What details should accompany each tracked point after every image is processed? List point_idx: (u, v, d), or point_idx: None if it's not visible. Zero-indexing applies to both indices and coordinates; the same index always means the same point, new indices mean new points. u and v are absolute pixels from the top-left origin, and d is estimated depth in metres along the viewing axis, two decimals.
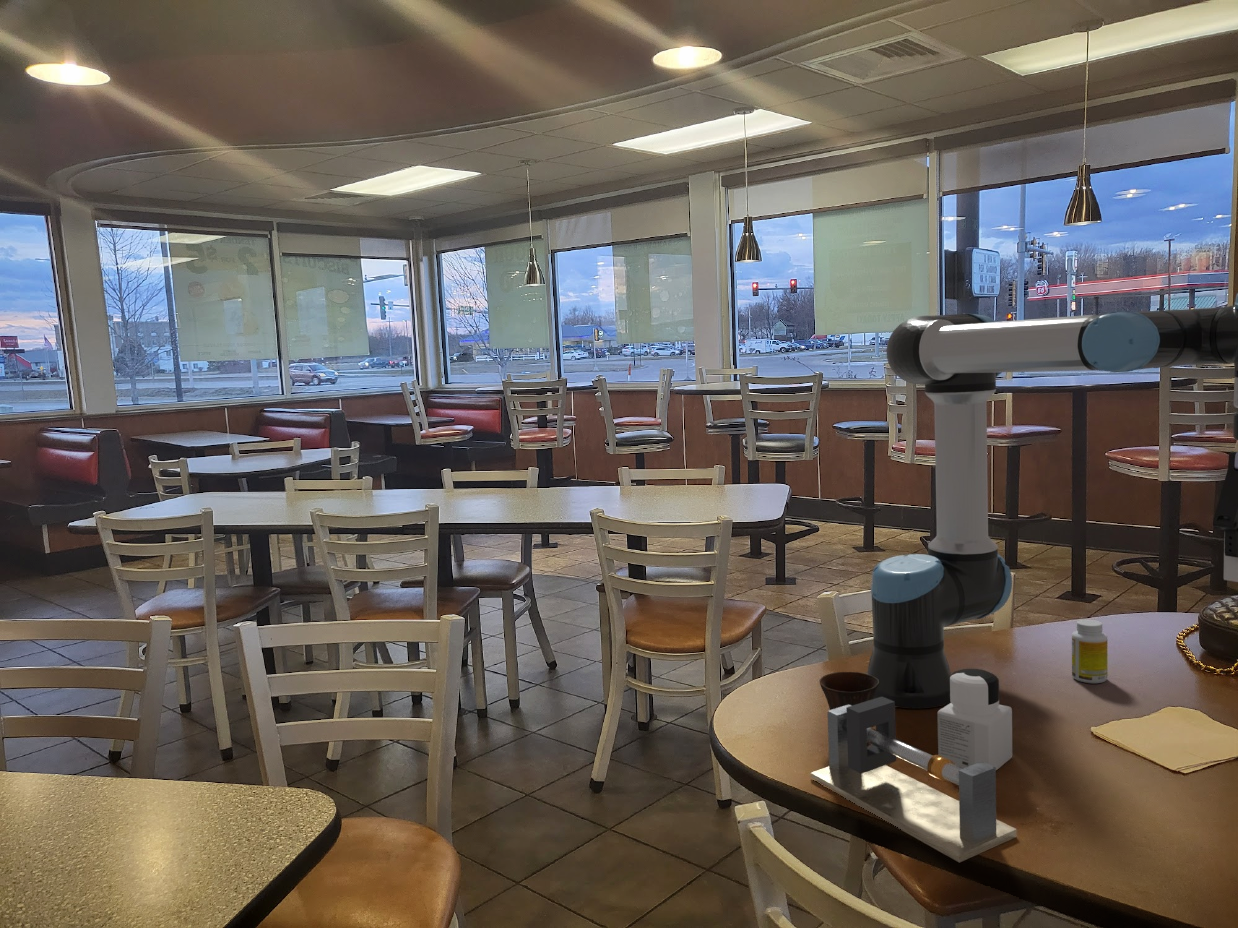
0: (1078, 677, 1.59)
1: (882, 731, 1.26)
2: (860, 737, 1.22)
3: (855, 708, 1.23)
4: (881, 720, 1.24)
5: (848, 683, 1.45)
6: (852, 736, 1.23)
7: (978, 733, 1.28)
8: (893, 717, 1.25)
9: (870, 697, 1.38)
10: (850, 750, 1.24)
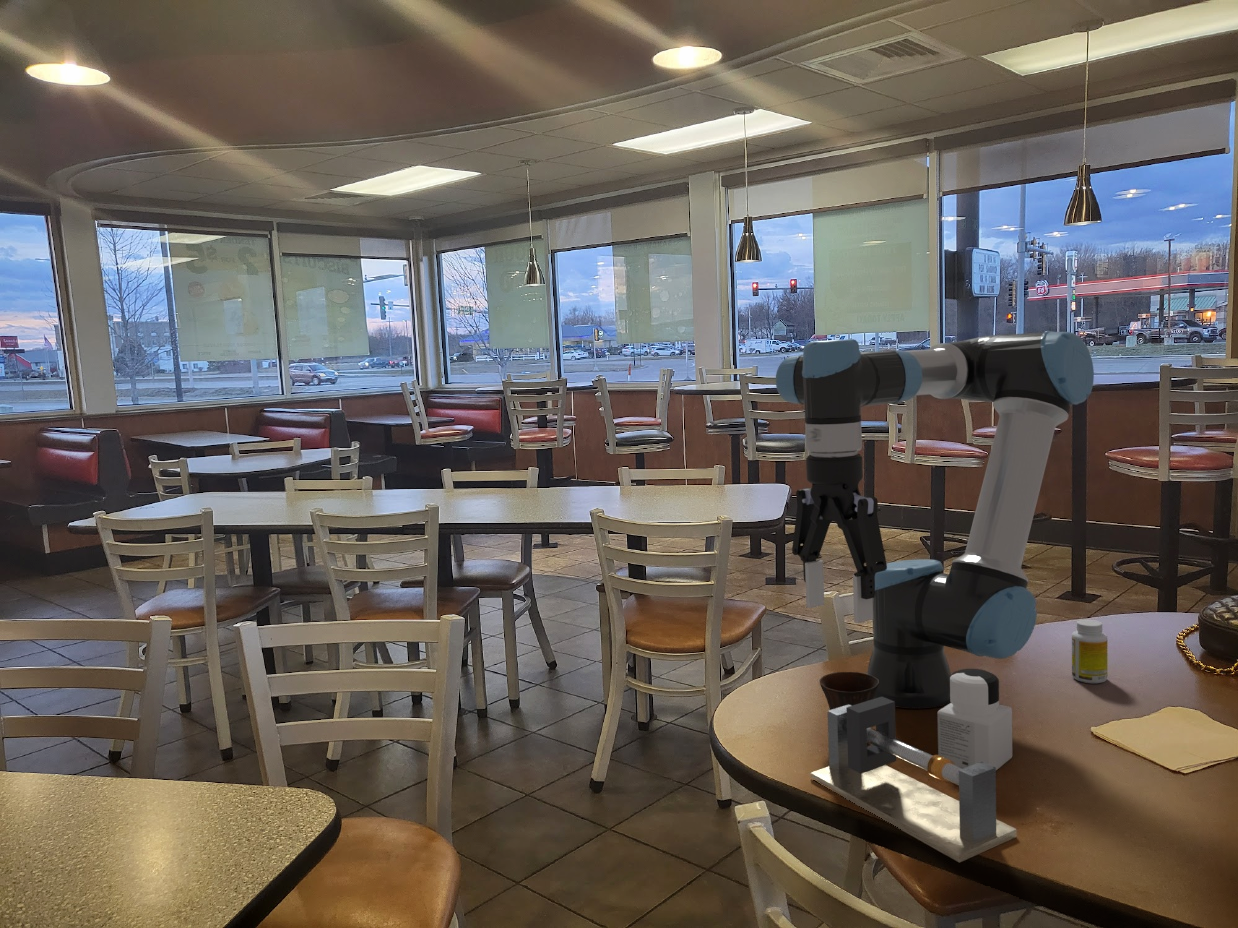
0: (1078, 677, 1.59)
1: (882, 731, 1.26)
2: (860, 737, 1.22)
3: (855, 708, 1.23)
4: (881, 720, 1.24)
5: (848, 683, 1.45)
6: (852, 736, 1.23)
7: (978, 733, 1.27)
8: (893, 717, 1.25)
9: (870, 697, 1.38)
10: (850, 750, 1.24)
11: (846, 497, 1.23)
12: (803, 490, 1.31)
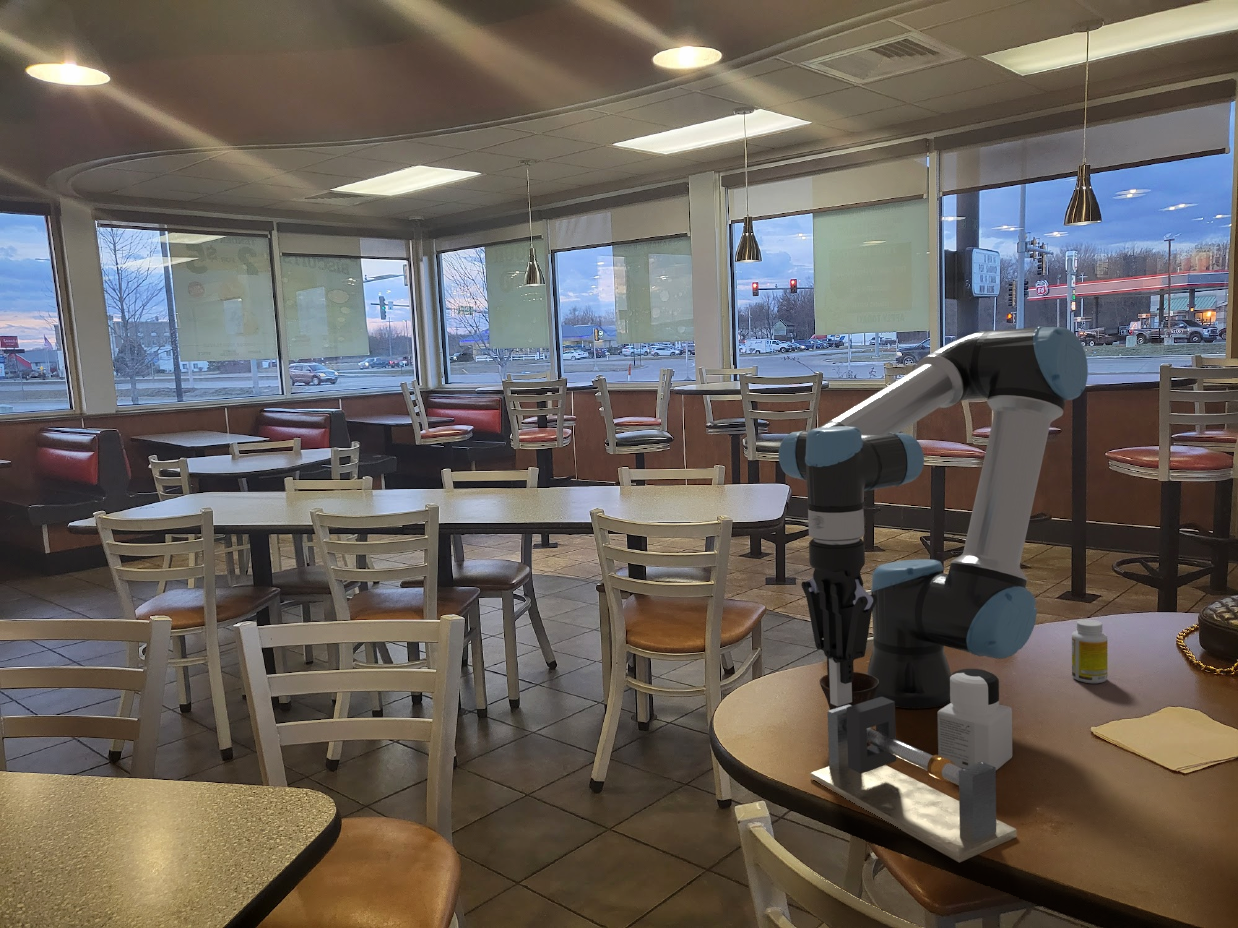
0: (1078, 677, 1.59)
1: (882, 731, 1.26)
2: (860, 737, 1.22)
3: (855, 708, 1.23)
4: (881, 720, 1.24)
5: None
6: (852, 736, 1.23)
7: (978, 733, 1.27)
8: (893, 717, 1.25)
9: (870, 697, 1.38)
10: (850, 750, 1.24)
11: (848, 585, 1.24)
12: None
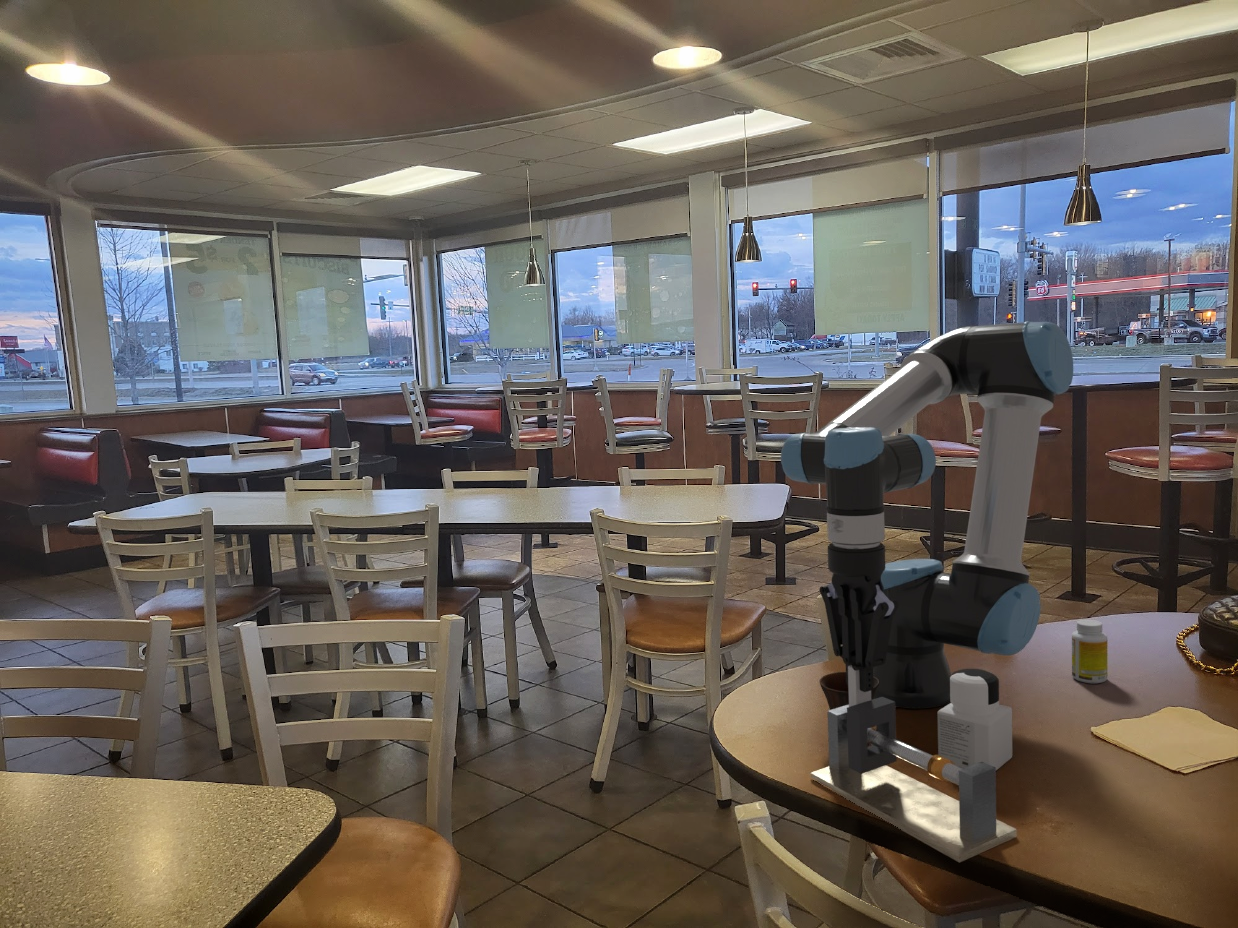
0: (1078, 677, 1.59)
1: (882, 731, 1.26)
2: (860, 737, 1.22)
3: (855, 708, 1.23)
4: (881, 720, 1.24)
5: None
6: (852, 736, 1.23)
7: (978, 733, 1.27)
8: (893, 717, 1.25)
9: None
10: (850, 750, 1.24)
11: (869, 591, 1.20)
12: (825, 585, 1.29)
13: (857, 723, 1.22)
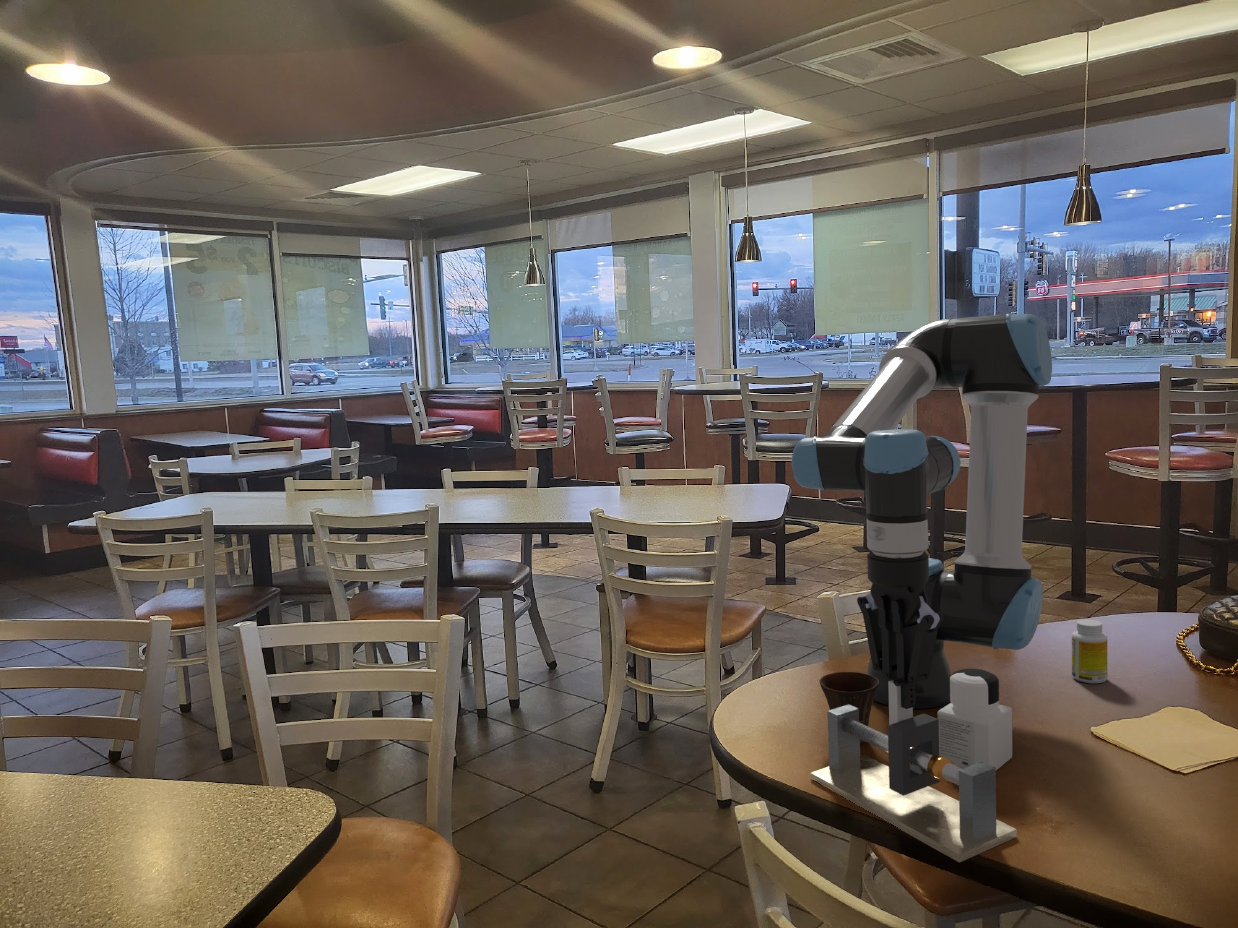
0: (1078, 677, 1.59)
1: (925, 750, 1.19)
2: (903, 757, 1.16)
3: (897, 726, 1.17)
4: (924, 739, 1.17)
5: (848, 683, 1.45)
6: (894, 756, 1.17)
7: (978, 733, 1.27)
8: (937, 735, 1.18)
9: (870, 697, 1.38)
10: (892, 770, 1.17)
11: (912, 602, 1.14)
12: (863, 596, 1.22)
13: (899, 742, 1.16)
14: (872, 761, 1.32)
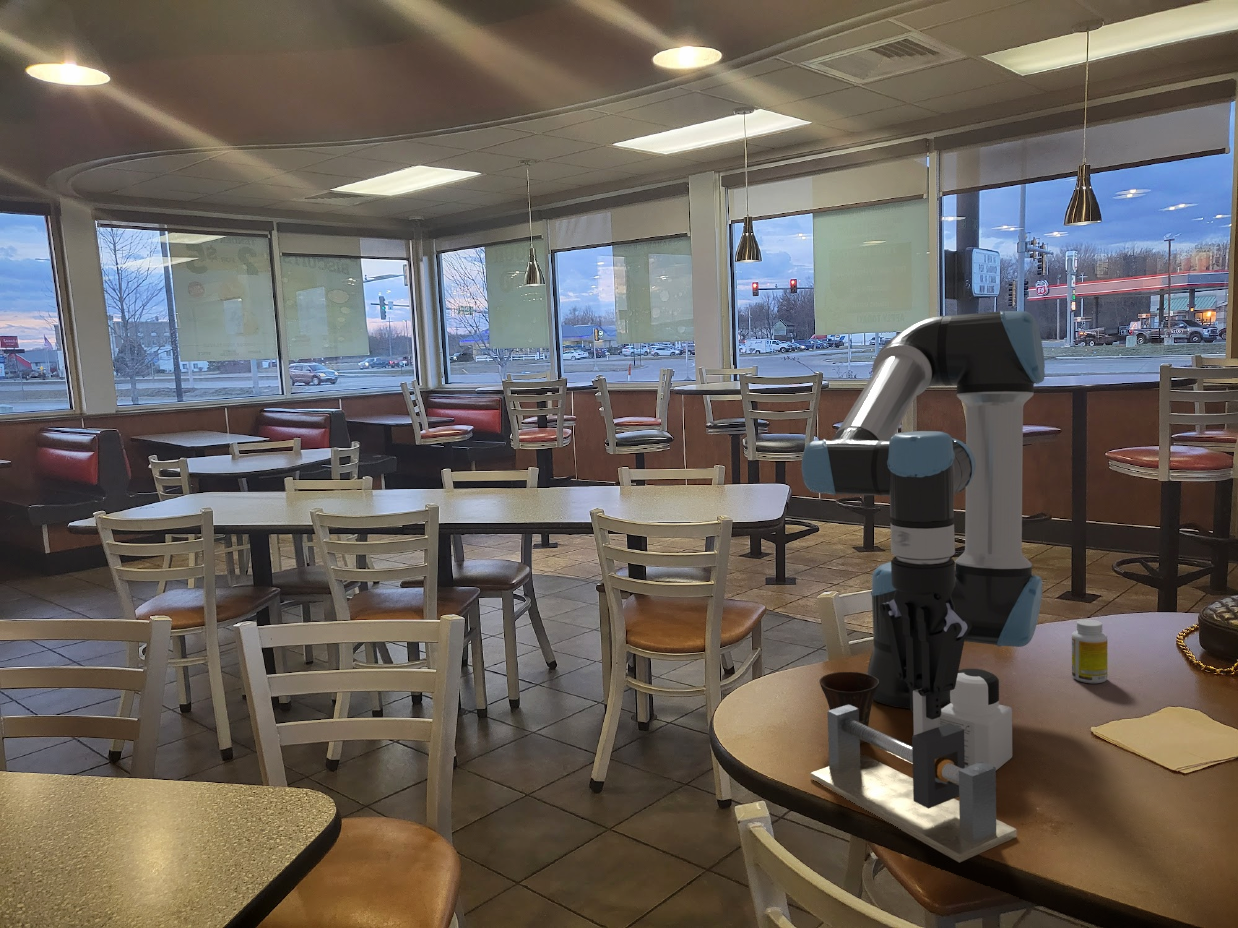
0: (1078, 677, 1.59)
1: None
2: (928, 769, 1.12)
3: (922, 737, 1.13)
4: (950, 750, 1.14)
5: (848, 683, 1.45)
6: (918, 767, 1.13)
7: (978, 733, 1.27)
8: (962, 746, 1.15)
9: (870, 697, 1.38)
10: (916, 782, 1.14)
11: (938, 610, 1.10)
12: (886, 603, 1.19)
13: (924, 753, 1.12)
14: (872, 761, 1.32)
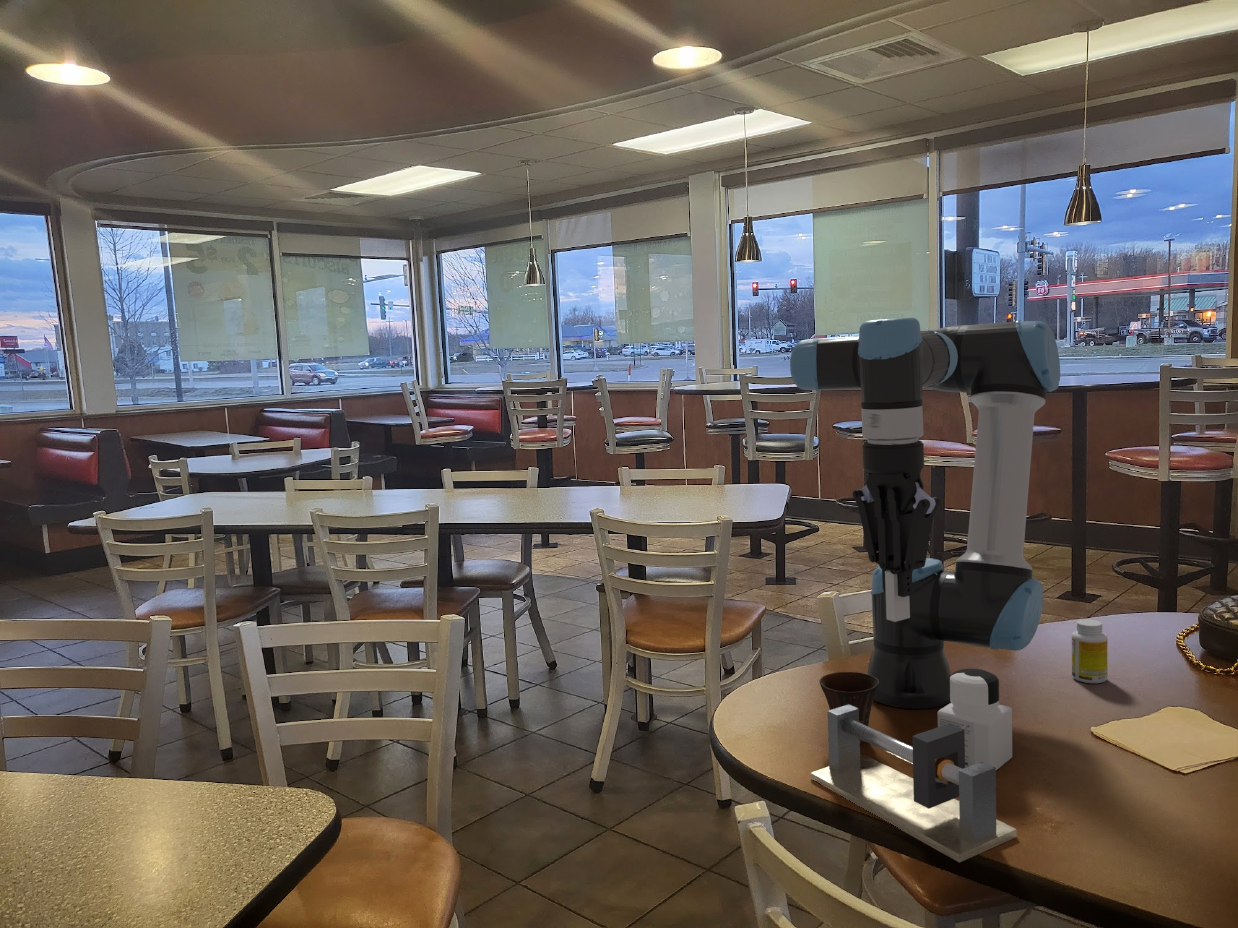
0: (1078, 677, 1.59)
1: None
2: (928, 769, 1.12)
3: (922, 737, 1.13)
4: (950, 750, 1.14)
5: (848, 683, 1.45)
6: (919, 768, 1.13)
7: (978, 733, 1.27)
8: (963, 746, 1.15)
9: (870, 697, 1.38)
10: (916, 782, 1.14)
11: (908, 488, 1.14)
12: (859, 489, 1.23)
13: (924, 753, 1.12)
14: (872, 761, 1.32)
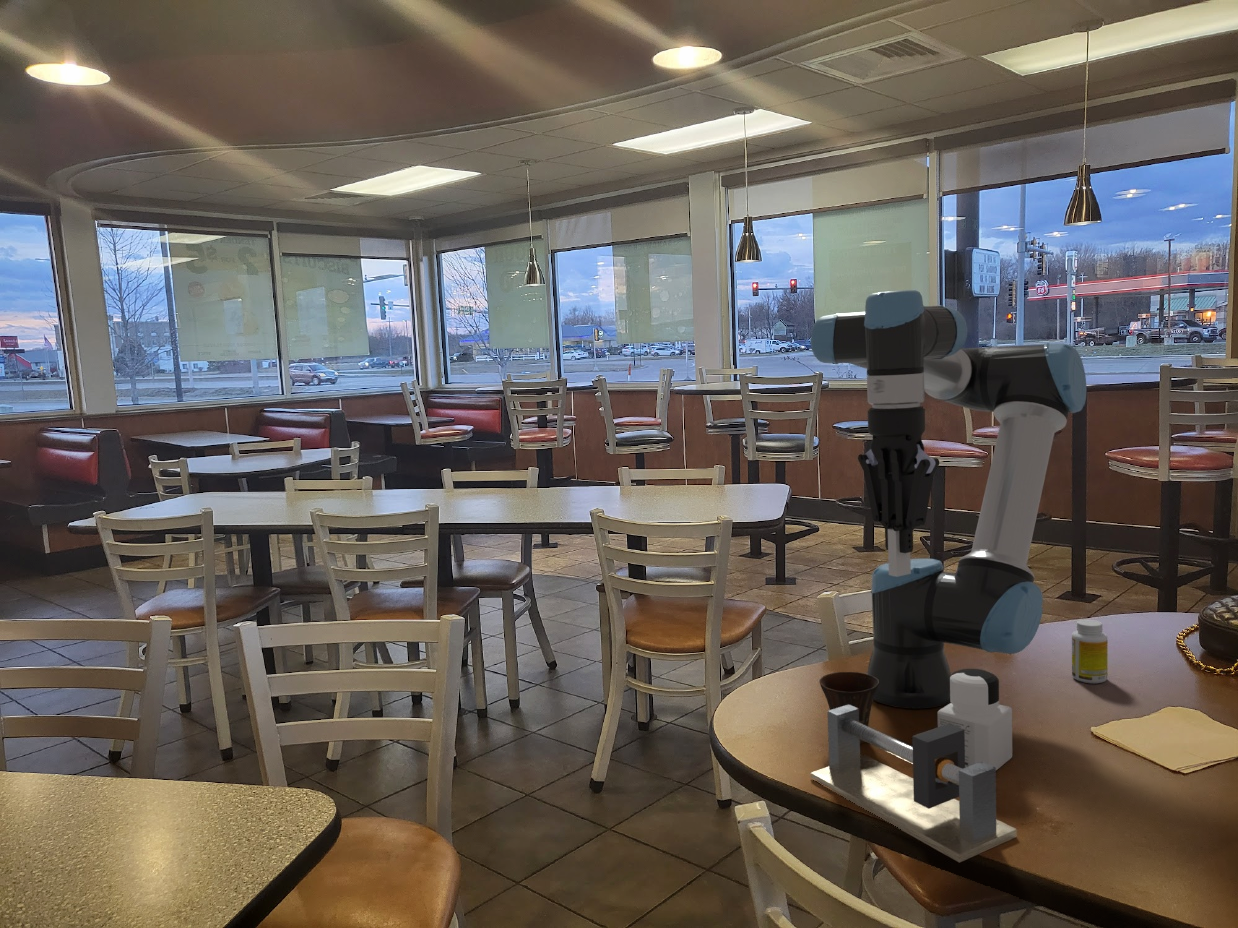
0: (1078, 677, 1.59)
1: None
2: (928, 769, 1.12)
3: (922, 737, 1.13)
4: (950, 750, 1.14)
5: (848, 683, 1.45)
6: (919, 768, 1.13)
7: (978, 733, 1.27)
8: (963, 746, 1.15)
9: (870, 697, 1.38)
10: (916, 782, 1.14)
11: (910, 450, 1.22)
12: (864, 454, 1.31)
13: (924, 753, 1.12)
14: (872, 761, 1.32)
